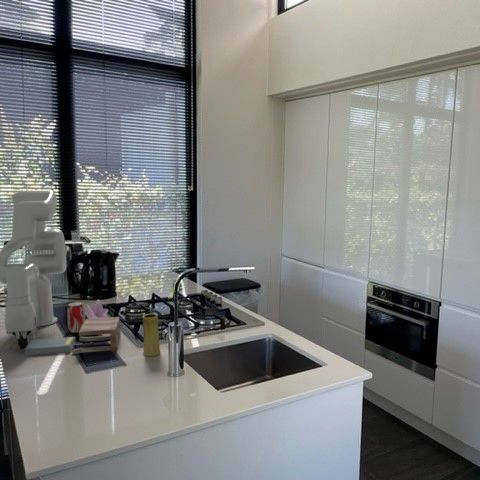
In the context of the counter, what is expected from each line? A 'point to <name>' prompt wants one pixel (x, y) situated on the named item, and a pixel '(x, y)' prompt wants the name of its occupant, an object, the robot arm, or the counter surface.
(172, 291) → the leek
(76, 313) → the soda can
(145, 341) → the vase
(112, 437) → the counter surface
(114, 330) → the shelf
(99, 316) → the lily
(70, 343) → the grey book
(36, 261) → the robot arm
